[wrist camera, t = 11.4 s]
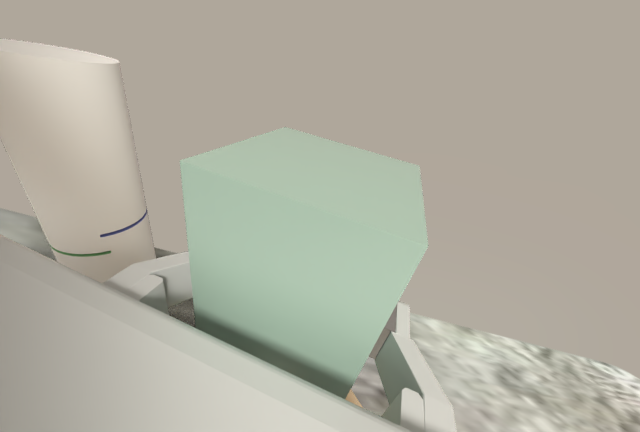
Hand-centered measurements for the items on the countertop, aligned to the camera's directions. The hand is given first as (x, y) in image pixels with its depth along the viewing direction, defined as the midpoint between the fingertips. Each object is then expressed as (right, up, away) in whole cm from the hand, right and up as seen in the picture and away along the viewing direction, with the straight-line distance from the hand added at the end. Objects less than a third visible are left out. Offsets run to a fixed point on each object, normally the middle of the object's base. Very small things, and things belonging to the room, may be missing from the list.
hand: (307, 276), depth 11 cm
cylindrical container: (-22, -8, +18) cm, 29 cm away
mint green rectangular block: (-2, -6, +3) cm, 7 cm away
